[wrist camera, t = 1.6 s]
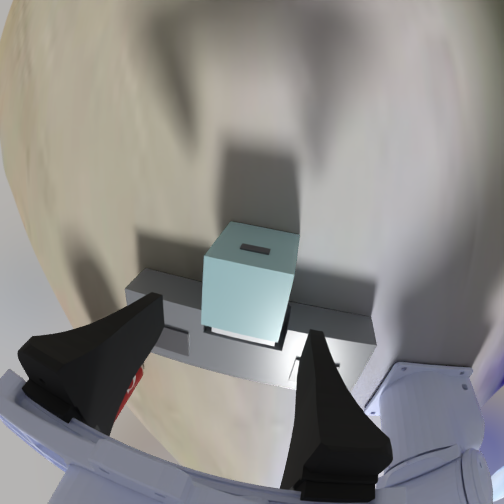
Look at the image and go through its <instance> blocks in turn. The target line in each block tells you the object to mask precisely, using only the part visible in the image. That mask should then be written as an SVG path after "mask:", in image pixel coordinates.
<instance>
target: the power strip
mask: <svg viewBox="0 0 504 504" xmlns="http://www.w3.org/2000/svg"><path fill="white" fill-rule="evenodd" d="M202 286H203V282H200V281H196V280H192V279H187V278H183V277H179V276H175V275H171V274H167V273H163V272H159V271H155V270H151V269H148V268H145V269H144V270H143V271H142V272H141V273H140V274H139V275H138V276H137V277H136V278H135V279H134V280H133V281H132V282H131V283H130V284H129V285H128V286H127V287H126V288H125V293H126V301H127V306H128V305H130V304H131V303H133V302H135V301H137V300H138V299H140V298H142V297H144V296H145V295H147V294H149V293H151V292H154V293H157V294H161V295H163V309H164V324H165V326H164V328H163V331H162V333H161V335H160V337H159V339H158V341H157V343H156V344H155V346H154V347H153V349H152V350H151V352H152V353H155V354H158V355H161V356H164V357H167V358H170V359H173V360H176V361H179V362H183V363H186V364H189V365H193V366H196V367H200V368H203V369H207V370H210V371H214V372H218V373H222V374H225V375H229V376H233V377H237V378H242V379H246V380H250V381H255V382H259V383H264V384H268V385H273V386H278V387H283V388H289V389H294V390H296V384H297V373H298V367H299V361H300V357H301V354H302V351H303V348H304V345H305V342H306V339H307V336H308V333H309V330H310V329H313V330H318V331H323V333H324V335H325V338H326V341H327V344H328V347H329V350H330V353H331V355H332V358H333V360H334V362H335V365H336V367H337V369H338V371H339V373H340V375H341V377H342V379H343V381H344V383H345V385H346V387H347V388H348V390H349V392H351V391H352V389H353V387H354V386H355V384H356V382H357V381H358V379H359V377H360V375H361V374H362V372H363V370H364V368H365V367H366V365H367V363H368V361H369V359H370V357H371V355H372V354H373V352H374V350H375V348H376V346H377V344H376V339H375V334H374V329H373V324H372V319H371V317H369V316H363V315H357V314H352V313H346V312H341V311H336V310H330V309H325V308H320V307H315V306H310V305H305V304H300V303H295V302H290V301H288V304H287V308H286V312H285V317H284V321H283V324H282V328H281V332H280V336H279V340H278V342H275V344H274V346H270V345H266V344H261V343H257V342H252V341H248V340H243V339H239V338H235V337H231V336H227V335H223V334H219V333H215V332H212V327H209V326H206V325H202V324H201V311H202Z"/></svg>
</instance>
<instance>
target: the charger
mask: <svg viewBox="0 0 504 504" xmlns="http://www.w3.org/2000/svg"><path fill="white" fill-rule="evenodd" d="M299 238H300V235H298V234H293V233H288V232H283V231H278V230H273V229H268V228H263V227H258V226H253V225H248V224H243V223H237V222H232V221H231V222H230V223H229V224H228V225H227V227H226V228H225V229H224V230H223V232H222V233H221V234H220V236H219V237H218V238H217V240H216V241H215V242H214V243H213V245H212V246H211V247H210V249H209V250H208V251H207V253H206V254H205V255H204V265H203V286H202V311H201V324H202V325H206V326H209V327H212V332H215V333H219V334H223V335H227V336H231V337H235V338H239V339H243V340H248V341H252V342H257V343H261V344H266V345H270V346H274V344H275V342H278V340H279V336H280V332H281V328H282V324H283V321H284V317H285V312H286V308H287V304H288V300H289V296H290V292H291V288H292V283H293V279H294V275H295V268H296V261H297V253H298V246H299Z"/></svg>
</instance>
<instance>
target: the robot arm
mask: <svg viewBox="0 0 504 504" xmlns="http://www.w3.org/2000/svg"><path fill="white" fill-rule="evenodd" d="M164 326H165V324H164V309H163V295H161V294H157V293H154V292H151V293H149V294H147V295H145V296H144V297H142V298H140V299H138V300H137V301H135V302H133V303H131V304H130V305H128V306H126V307H124V308H123V309H121V310H119V311H117V312H115V313H113V314H111V315H109V316H107V317H105V318H103V319H101V320H98V321H96V322H94V323H91V324H88V325H86V326H83V327H79V328H76V329H73V330H69V331H66V332H61V333H55V334H49V335H41V336H32V337H31V338H30V339H29V340H28V341H27V342H26V343H25V344H24V345H23V346H22V347H21V348H20V349H19V350H18V358H19V361H20V363H21V365H22V367H23V368H24V370H25V372H26V374H27V375H28V377H29V380H28V381H27V382H25V380H24V379H23V378H21V377H20V376H19V375H17V374H16V373H15V372H13V371H12V370H11V369H8V370H7V372H6V373H5V374H4V375H3V376H2V377H1V378H0V420H1V421H2V422H3V423H4V424H5V425H6V426H7V427H8V428H9V429H10V430H11V431H12V432H14V433H15V434H16V435H17V436H18V437H20V438H21V439H22V440H23V441H24V442H26V443H27V444H28V445H29V446H30V447H32V448H33V449H34V450H36V451H37V452H38V453H39V454H41V455H42V456H43V457H45V458H46V459H47V460H49V461H50V462H51V463H53V464H54V465H56V466H57V467H58V468H60V469H61V470H63V471H64V472H66V473H65V475H64V476H63V478H62V480H61V481H60V483H59V485H58V487H57V488H56V490H55V492H54V494H53V495H52V497H51V499H50V500H49V502H48V504H493V489H492V481H491V476H490V472H489V469H488V466H487V463H486V460H485V458H484V456H483V454H482V453H481V451H479V448H480V446H481V444H482V441H483V437H484V427H485V425H484V419H483V416H482V413H481V409H480V406H479V403H478V400H477V398H476V395H475V392H474V389H473V386H472V384H471V381H470V379H469V377H470V376H471V374H472V373H473V369H472V368H471V367H453V366H439V365H427V364H416V363H407V362H397V363H396V364H395V365H394V366H393V367H392V369H391V371H390V372H389V374H388V375H387V377H386V379H385V380H384V382H383V383H382V385H381V386H380V388H379V389H378V391H377V392H376V394H375V395H374V397H373V398H372V399H371V401H370V402H369V404H368V405H367V407H366V408H365V409H364V411H363V410H362V409H361V408H360V406H359V405H358V404H357V402H356V401H355V399H354V398H353V396H352V395H351V393H350V392H349V390H348V388H347V387H346V385H345V383H344V381H343V379H342V377H341V375H340V373H339V371H338V369H337V367H336V365H335V362H334V360H333V358H332V355H331V353H330V350H329V347H328V344H327V341H326V338H325V335H324V333H323V331H318V330H313V329H310V330H309V333H308V336H307V339H306V342H305V345H304V348H303V351H302V354H301V357H300V361H299V367H298V373H297V384H296V404H295V419H294V427H293V432H292V438H291V443H290V448H289V452H288V457H287V462H286V466H285V470H284V474H283V478H282V482H281V486H280V489H278V488H271V487H265V486H259V485H254V484H249V483H244V482H239V481H235V480H230V479H226V478H222V477H218V476H214V475H210V474H207V473H203V472H200V471H196V470H193V469H190V468H187V467H183V466H180V465H177V464H174V463H171V462H169V461H166V460H163V459H160V458H158V457H155V456H152V455H150V454H147V453H145V452H142V451H140V450H138V449H135V448H133V447H131V446H128V445H126V444H124V443H122V442H120V441H117V440H115V439H113V438H111V437H109V436H110V433H111V429H112V426H113V424H114V421H115V418H116V416H117V413H118V411H119V408H120V406H121V403H122V401H123V399H124V397H125V394H126V392H127V390H128V388H129V386H130V384H131V382H132V380H133V378H134V376H135V375H136V373H137V372H138V370H139V369H140V367H141V365H142V364H143V362H144V361H145V359H146V358H147V356H148V355H149V354H150V352H151V350H152V349H153V347H154V346H155V344H156V343H157V341H158V339H159V337H160V335H161V333H162V331H163V328H164ZM403 367H404V368H403ZM367 415H374V416H380V418H381V429H382V431H381V430H380V429H379V428H378V427H377V426H376V425H375V424H374V423H373V422H372V421H371V420H370V419H369V418H368V416H367ZM383 470H384V476H382V477H379V478H378V474H379V473H381V472H382V471H383ZM375 484H376V488H375Z"/></svg>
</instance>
